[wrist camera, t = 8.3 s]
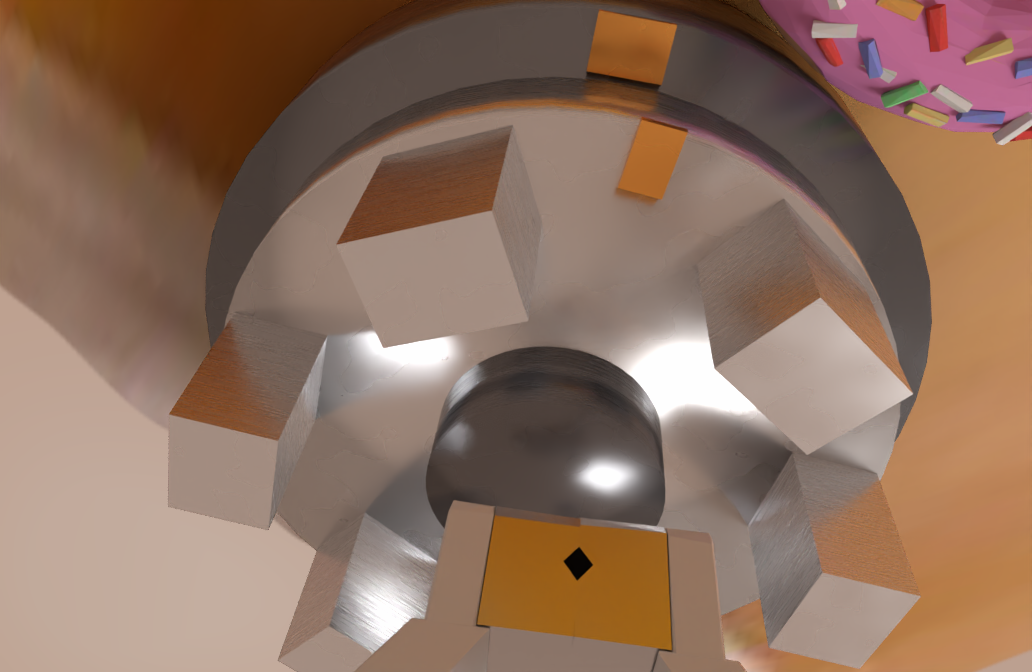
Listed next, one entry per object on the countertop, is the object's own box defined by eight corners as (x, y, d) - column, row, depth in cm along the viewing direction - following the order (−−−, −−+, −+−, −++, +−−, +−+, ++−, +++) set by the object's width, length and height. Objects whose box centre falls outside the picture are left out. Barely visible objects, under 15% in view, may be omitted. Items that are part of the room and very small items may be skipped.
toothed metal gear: (236, 510, 30) (156, 677, 25) (278, -24, 19) (153, 69, 14) (727, 625, 31) (751, 808, 26) (1017, 182, 21) (1157, 339, 15)
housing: (241, -102, 23) (177, -71, 19) (1021, 46, 23) (1091, 100, 20) (258, 466, 35) (220, 545, 31) (765, 557, 35) (782, 644, 32)
